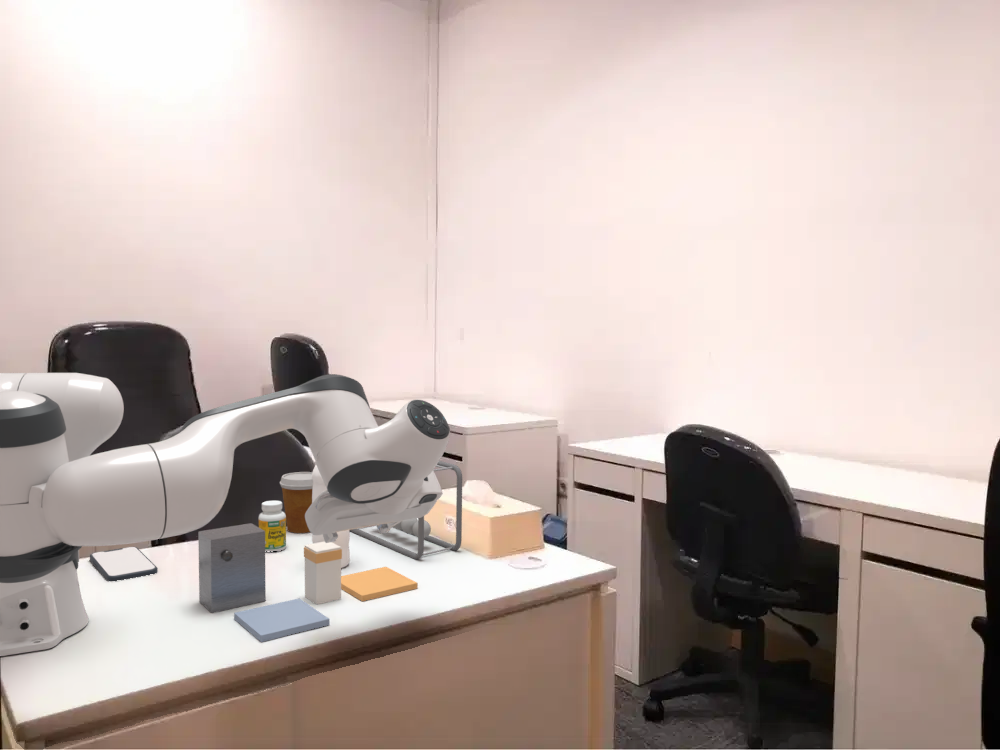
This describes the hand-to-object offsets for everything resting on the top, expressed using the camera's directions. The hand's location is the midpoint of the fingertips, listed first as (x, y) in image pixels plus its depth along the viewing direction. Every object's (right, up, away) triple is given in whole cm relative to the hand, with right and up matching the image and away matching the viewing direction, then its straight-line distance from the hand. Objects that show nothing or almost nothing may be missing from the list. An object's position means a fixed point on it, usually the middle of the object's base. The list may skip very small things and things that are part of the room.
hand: (355, 533), depth 129 cm
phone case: (-48, -12, +25) cm, 55 cm away
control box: (-22, -13, +7) cm, 26 cm away
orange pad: (+1, -12, +16) cm, 20 cm away
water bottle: (-9, -12, +27) cm, 31 cm away
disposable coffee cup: (-21, -9, +51) cm, 56 cm away
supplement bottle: (-23, -10, +37) cm, 45 cm away
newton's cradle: (+2, -10, +45) cm, 46 cm away
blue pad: (-11, -14, -1) cm, 18 cm away
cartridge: (-7, -13, +10) cm, 18 cm away
